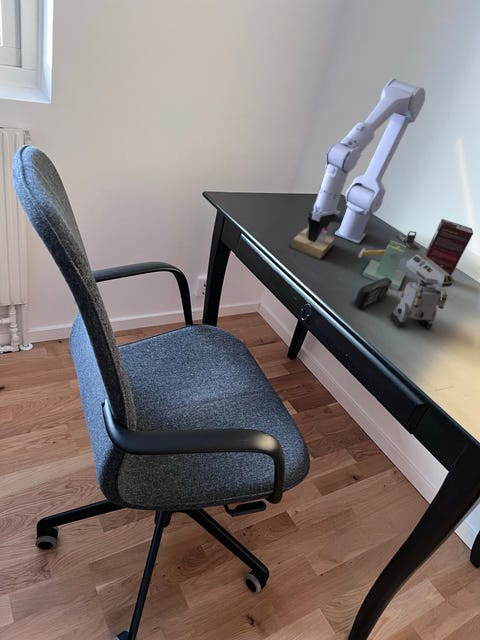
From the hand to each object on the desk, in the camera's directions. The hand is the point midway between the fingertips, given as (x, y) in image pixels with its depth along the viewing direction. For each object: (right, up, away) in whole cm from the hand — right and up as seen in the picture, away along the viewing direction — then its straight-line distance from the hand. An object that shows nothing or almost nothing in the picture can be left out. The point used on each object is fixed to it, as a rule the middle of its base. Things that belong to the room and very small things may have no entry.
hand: (315, 237), depth 132 cm
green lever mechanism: (+18, -11, -4) cm, 22 cm away
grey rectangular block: (0, 0, 0) cm, 0 cm away
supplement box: (+34, -11, +3) cm, 36 cm away
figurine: (+18, -23, -21) cm, 36 cm away
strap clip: (+34, +2, +21) cm, 39 cm away
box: (+6, +11, +24) cm, 27 cm away
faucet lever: (+16, -6, -6) cm, 19 cm away
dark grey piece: (+11, -18, -17) cm, 27 cm away
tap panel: (-1, -2, +2) cm, 3 cm away
